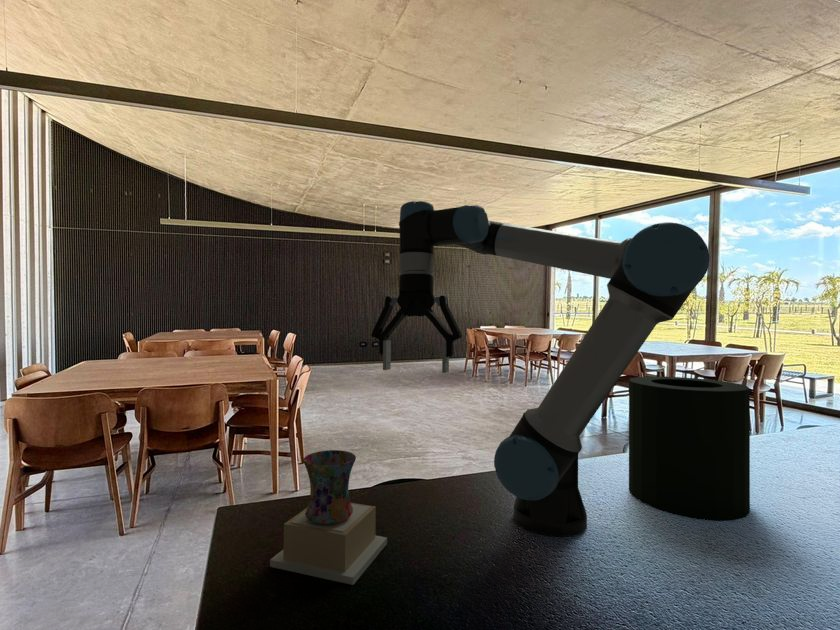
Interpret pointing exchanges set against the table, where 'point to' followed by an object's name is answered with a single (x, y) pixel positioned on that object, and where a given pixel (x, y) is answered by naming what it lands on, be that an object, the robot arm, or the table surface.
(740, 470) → the flower pot
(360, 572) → the cream stepped pedestal
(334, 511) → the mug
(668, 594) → the table surface
